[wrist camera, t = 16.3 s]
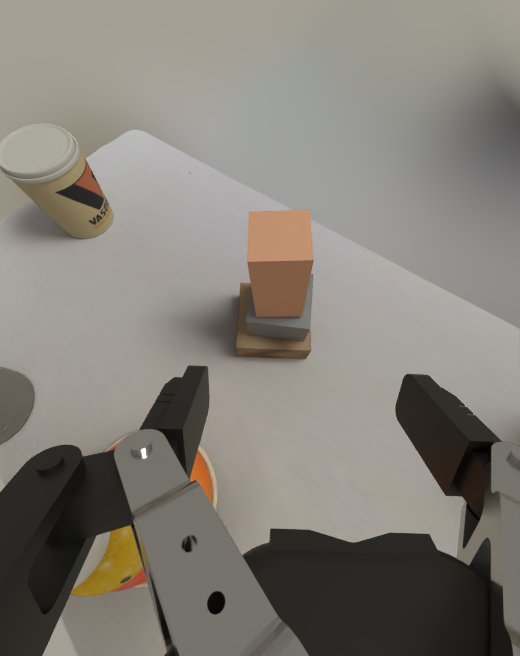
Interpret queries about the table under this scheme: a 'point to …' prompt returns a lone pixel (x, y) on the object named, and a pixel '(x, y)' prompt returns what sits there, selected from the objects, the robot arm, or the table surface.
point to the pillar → (279, 261)
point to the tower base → (265, 345)
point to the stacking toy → (130, 545)
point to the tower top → (281, 321)
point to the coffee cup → (56, 178)
